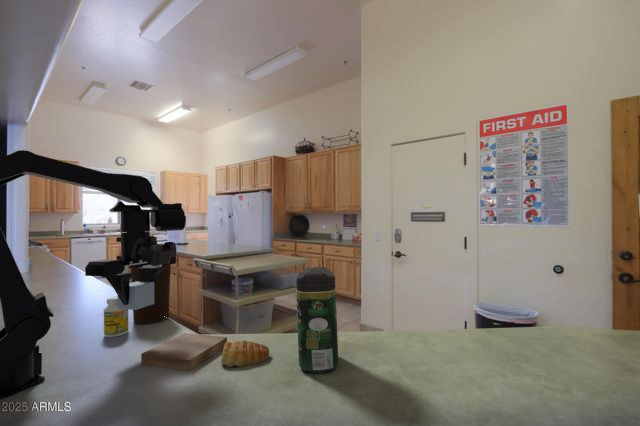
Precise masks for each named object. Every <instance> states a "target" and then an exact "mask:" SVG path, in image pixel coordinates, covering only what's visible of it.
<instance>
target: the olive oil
mask: <svg viewBox="0 0 640 426" xmlns="http://www.w3.org/2000/svg"><path fill="white" fill-rule="evenodd" d="M154 237H155V241H156V243H157V244H158V241H157V239H158V237H157V236H154ZM139 261H142V260H139ZM142 267H143V266H139V267H134V268H130V273H134V274H133V276H132V277H131V279H130V280H131V281H130V283H133V282H140V276H139V270H138V268H142ZM162 267H166V269H164V270H162V271H161V272H160V273H159V274H158V276H157V278H156V280H155V282H154V304H152V305H149V306H146V307H143V308H140V309H137V310H132V312H133V313H132V317H133V323H134V324H135V325H151V324H155V323H156V324H157V323H159V322H163V321H166V320H168V318H169V317H170V290H171V289H170V288H171V271H172V270H171V268H172V267H171V265H166V264H162ZM164 316H165V317H164ZM166 317H167V318H166Z"/></svg>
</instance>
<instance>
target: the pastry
mask: <svg viewBox="0 0 640 426" xmlns="http://www.w3.org/2000/svg"><path fill="white" fill-rule="evenodd" d="M269 356H270V347H268V346H266V345H264V344H260V343H258V342H254V341H247V340H241V341H240V340H235V341H233V342H230V341H227V342H226V343H225V345H224V348H223V349H222V354H221V361H220V363H221V364H222V365H224V366H225V367H229V368H231V367H234V366H237V367H244V366H250V365H254V364H255V365H256V364H259V363H262V362H263V361H267V360H268V359H269Z"/></svg>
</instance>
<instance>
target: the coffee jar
mask: <svg viewBox="0 0 640 426" xmlns="http://www.w3.org/2000/svg"><path fill="white" fill-rule="evenodd" d="M295 288H296V291H295V292H296V293H295V294H296V296H295V297H296V315H297V316H296V322H297V323H296V324H297V326H296V327H297V346H298V353H297V354H298V364H299V365H298V366H299V367H300V369H301V370H302V371H306V372H310V373H313V374H323V373H326V372H330V371H333V370H336V368H337V367H338V364H339V345H338V344H339V343H338V341H339V340H338V338H339V337H338V319H337V291H336V290H337V287H336V276H335V273H333V272H332V270H329V269H327V268H326V267H323V266H319V267H318V266H317V267H307V268H305V269H304V270H302V271H301V272H299V273H298V274H297V276H296V287H295Z"/></svg>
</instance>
